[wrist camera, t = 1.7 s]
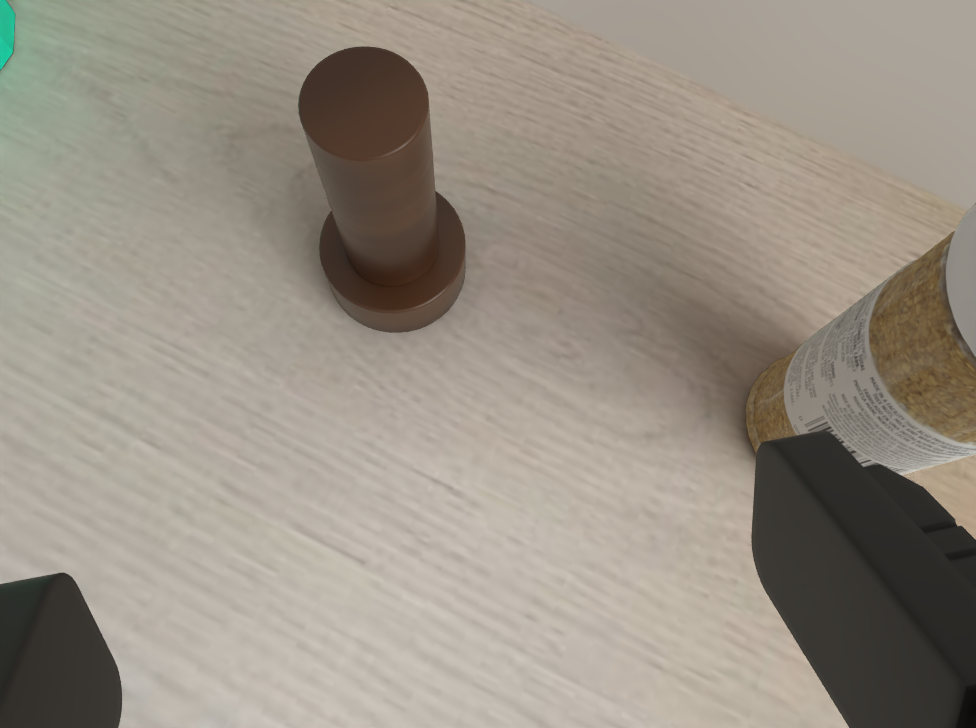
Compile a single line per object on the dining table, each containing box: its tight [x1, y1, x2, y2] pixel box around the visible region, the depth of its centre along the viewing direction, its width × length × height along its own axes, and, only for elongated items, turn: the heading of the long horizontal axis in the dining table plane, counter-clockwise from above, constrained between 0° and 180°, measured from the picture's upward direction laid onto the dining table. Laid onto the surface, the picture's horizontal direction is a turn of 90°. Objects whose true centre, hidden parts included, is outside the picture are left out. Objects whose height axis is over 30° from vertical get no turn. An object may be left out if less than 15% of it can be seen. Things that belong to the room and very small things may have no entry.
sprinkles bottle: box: [746, 203, 976, 475], centre depth 20 cm, size 5×5×13 cm
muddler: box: [298, 47, 465, 332], centre depth 22 cm, size 4×4×10 cm
